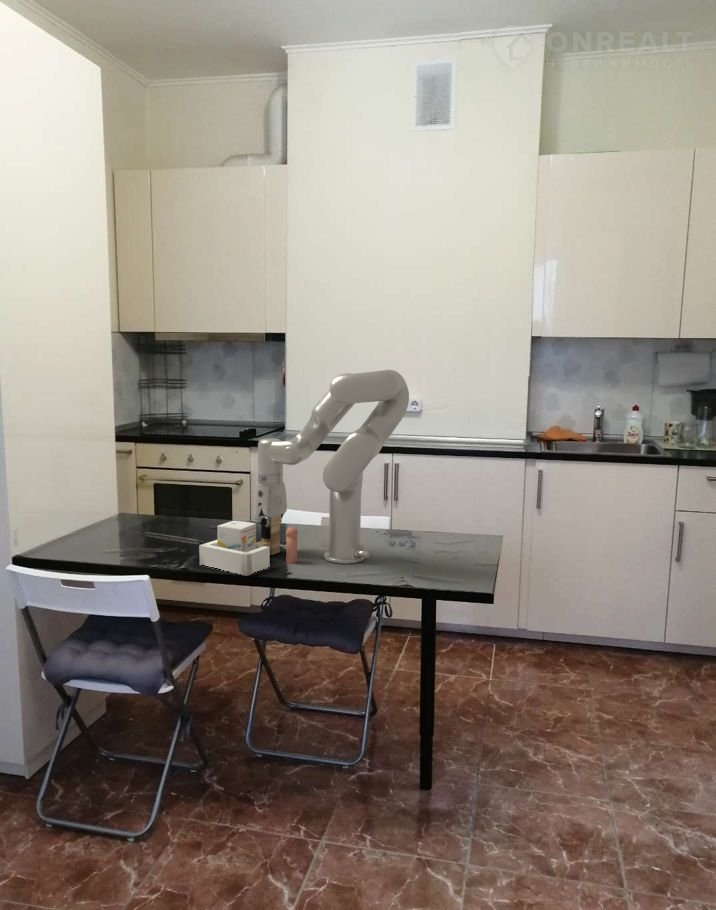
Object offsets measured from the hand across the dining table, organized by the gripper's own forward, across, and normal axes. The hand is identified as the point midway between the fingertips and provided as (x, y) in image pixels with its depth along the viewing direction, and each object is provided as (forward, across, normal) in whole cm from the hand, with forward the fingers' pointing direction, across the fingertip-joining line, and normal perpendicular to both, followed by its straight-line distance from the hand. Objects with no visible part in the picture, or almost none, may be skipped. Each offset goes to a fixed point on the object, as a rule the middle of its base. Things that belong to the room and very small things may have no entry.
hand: (270, 536), depth 224 cm
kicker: (+5, -4, 0) cm, 6 cm away
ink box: (+5, -14, +2) cm, 15 cm away
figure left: (+5, -4, -11) cm, 13 cm away
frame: (+5, -17, 0) cm, 18 cm away
